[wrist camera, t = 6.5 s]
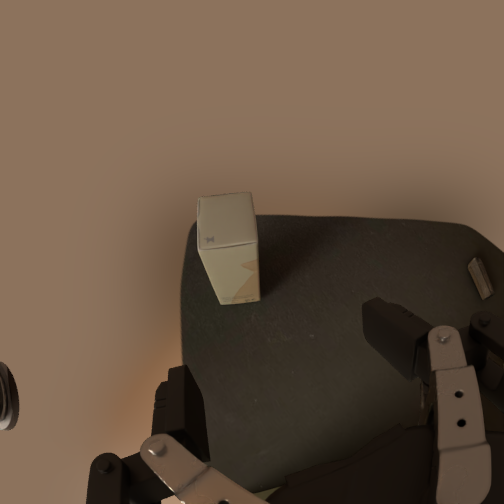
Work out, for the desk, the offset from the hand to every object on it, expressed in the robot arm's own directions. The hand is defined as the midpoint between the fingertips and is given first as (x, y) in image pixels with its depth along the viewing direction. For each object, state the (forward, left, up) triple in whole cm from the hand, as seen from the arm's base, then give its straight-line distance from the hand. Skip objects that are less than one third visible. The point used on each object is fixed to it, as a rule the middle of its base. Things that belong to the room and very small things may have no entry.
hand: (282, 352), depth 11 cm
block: (+30, -2, -15) cm, 34 cm away
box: (0, +10, -15) cm, 19 cm away
